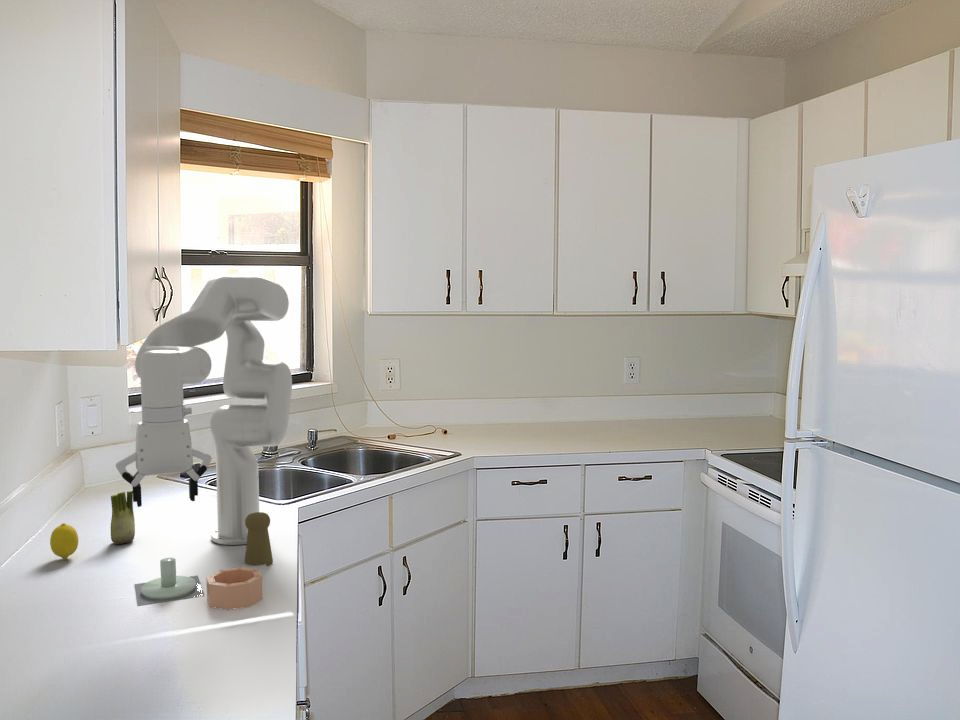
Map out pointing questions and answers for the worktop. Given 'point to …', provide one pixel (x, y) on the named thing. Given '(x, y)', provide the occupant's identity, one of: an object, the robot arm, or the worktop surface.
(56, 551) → the lemon
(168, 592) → the lid
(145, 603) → the mat
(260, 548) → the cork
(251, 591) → the bowl
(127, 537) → the fennel bulb
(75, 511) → the worktop surface
